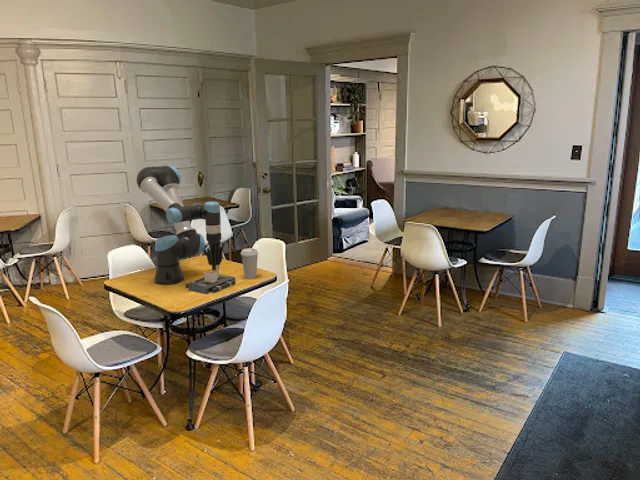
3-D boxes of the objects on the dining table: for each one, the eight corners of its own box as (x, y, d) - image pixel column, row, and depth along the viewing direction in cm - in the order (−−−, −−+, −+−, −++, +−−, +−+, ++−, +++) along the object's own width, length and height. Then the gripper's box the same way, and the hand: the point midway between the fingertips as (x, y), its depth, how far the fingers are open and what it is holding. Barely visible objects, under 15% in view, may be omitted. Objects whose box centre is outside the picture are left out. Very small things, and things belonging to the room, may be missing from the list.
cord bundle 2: (211, 292, 240) (210, 288, 239) (232, 283, 253) (231, 279, 253) (215, 293, 238) (214, 289, 238) (236, 284, 252) (235, 280, 252)
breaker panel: (188, 290, 243) (188, 285, 242) (217, 278, 262) (217, 273, 261) (206, 293, 237) (206, 288, 237) (235, 281, 256) (235, 276, 255)
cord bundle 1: (185, 287, 247) (184, 283, 246) (209, 278, 262) (209, 274, 262) (191, 289, 245) (191, 285, 244) (215, 279, 260) (215, 275, 259)
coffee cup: (256, 279, 259) (255, 252, 256) (239, 278, 261) (237, 251, 257) (261, 274, 268) (260, 248, 265) (245, 273, 270) (244, 247, 267)
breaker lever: (205, 281, 248) (204, 270, 247) (209, 279, 251) (209, 269, 250) (212, 282, 245) (211, 272, 244) (217, 281, 248) (216, 270, 247)
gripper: (210, 235, 239) (213, 281, 244) (227, 230, 250) (229, 274, 255) (199, 234, 242) (201, 279, 248) (216, 229, 253) (218, 272, 259)
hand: (216, 277), depth 251 cm, fingers closed
